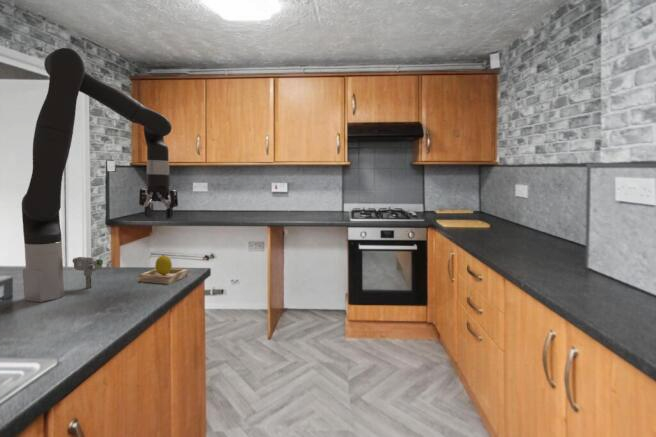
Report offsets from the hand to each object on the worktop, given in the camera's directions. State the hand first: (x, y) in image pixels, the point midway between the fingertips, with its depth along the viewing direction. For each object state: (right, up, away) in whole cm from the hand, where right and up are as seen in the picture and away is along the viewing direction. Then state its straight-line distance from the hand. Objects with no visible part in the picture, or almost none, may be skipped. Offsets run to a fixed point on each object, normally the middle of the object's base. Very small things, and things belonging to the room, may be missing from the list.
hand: (158, 218), depth 144 cm
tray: (+1, -22, +3) cm, 22 cm away
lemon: (+1, -22, +3) cm, 22 cm away
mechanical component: (-19, -24, -11) cm, 32 cm away
